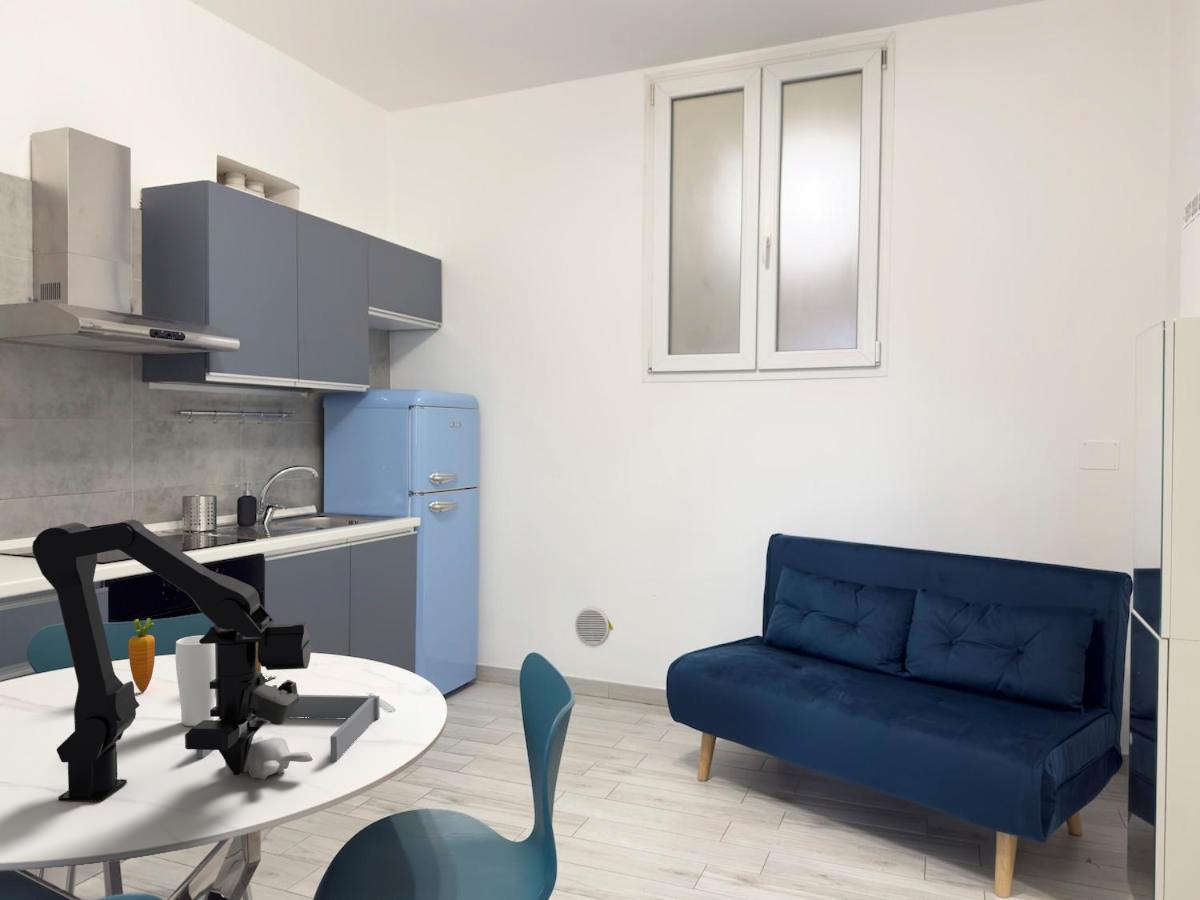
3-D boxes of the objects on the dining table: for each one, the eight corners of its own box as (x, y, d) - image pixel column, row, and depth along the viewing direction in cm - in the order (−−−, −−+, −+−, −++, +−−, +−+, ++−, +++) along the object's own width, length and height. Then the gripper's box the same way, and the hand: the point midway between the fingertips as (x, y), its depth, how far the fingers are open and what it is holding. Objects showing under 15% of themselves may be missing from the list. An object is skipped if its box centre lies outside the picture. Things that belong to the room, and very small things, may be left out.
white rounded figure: (267, 727, 141) (318, 738, 131) (270, 758, 141) (321, 772, 131) (210, 744, 134) (259, 757, 124) (213, 777, 133) (262, 792, 124)
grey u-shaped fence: (340, 761, 137) (339, 736, 136) (193, 758, 138) (193, 733, 138) (379, 717, 157) (379, 696, 156) (251, 715, 158) (251, 693, 158)
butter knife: (382, 712, 159) (397, 708, 160) (339, 677, 181) (353, 674, 183) (382, 715, 159) (398, 711, 160) (340, 680, 181) (354, 677, 183)
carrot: (150, 686, 175) (148, 613, 175) (161, 691, 172) (159, 617, 171) (124, 692, 171) (122, 618, 171) (135, 698, 168) (133, 622, 168)
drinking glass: (202, 730, 150) (200, 645, 150) (168, 727, 152) (166, 643, 151) (226, 717, 157) (225, 635, 157) (193, 714, 158) (192, 634, 158)
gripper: (260, 691, 118) (262, 803, 118) (314, 654, 136) (315, 751, 137) (181, 690, 118) (183, 801, 119) (246, 653, 137) (247, 750, 137)
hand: (238, 774), depth 128 cm, fingers closed
